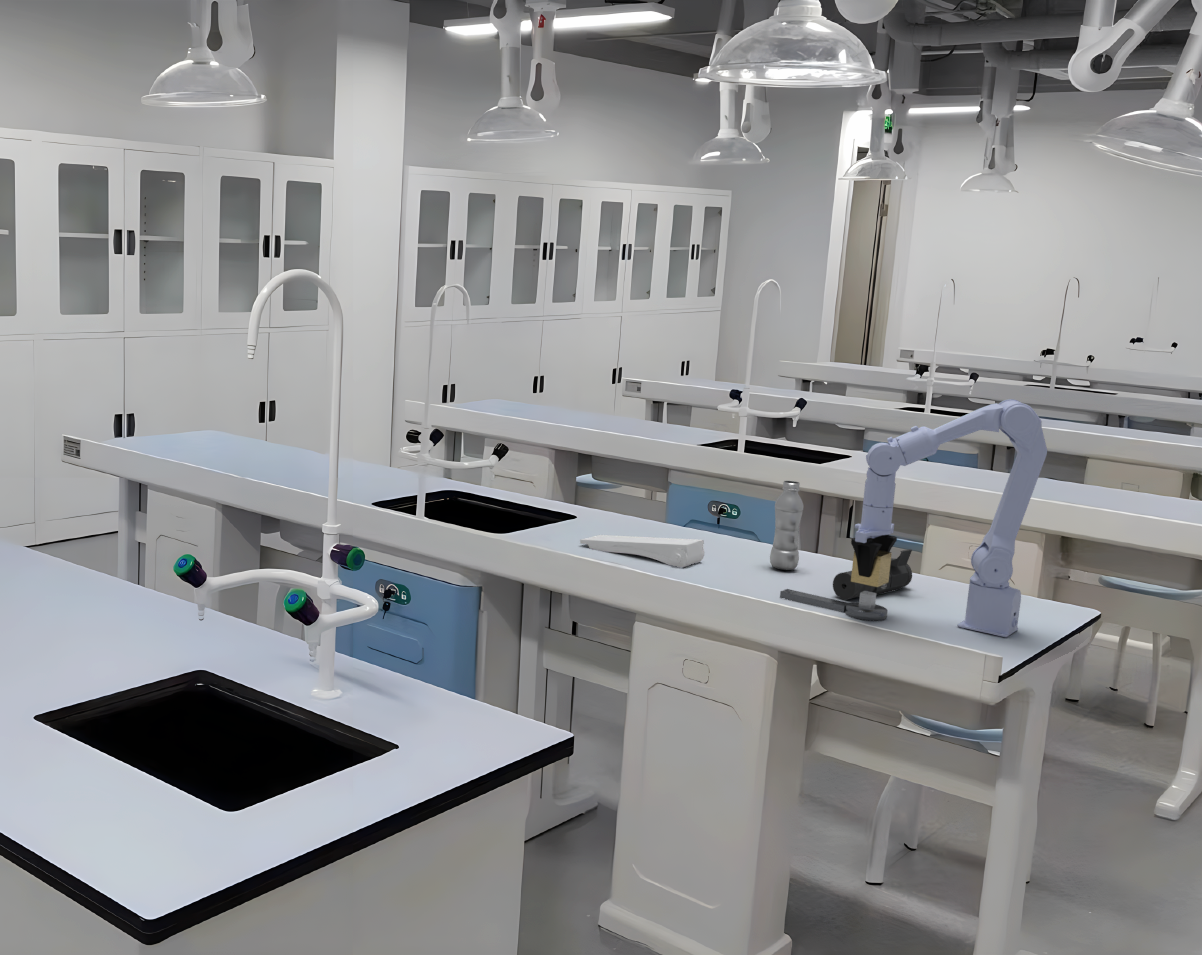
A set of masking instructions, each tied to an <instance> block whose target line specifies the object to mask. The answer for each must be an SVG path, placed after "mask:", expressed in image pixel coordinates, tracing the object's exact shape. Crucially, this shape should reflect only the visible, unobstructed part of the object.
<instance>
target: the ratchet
mask: <svg viewBox="0 0 1202 955" xmlns="http://www.w3.org/2000/svg"><path fill="white" fill-rule="evenodd" d="M876 594H877V593H873V592H869V591H863V592H861V593H860V597H859V601H858V602H857V601H855V602H854V601H853V602H846V601H842V600H838V599H835V598H829V597H826V596H825V597H824V596H820V595H816V594H812V593H807V592H803V591H797V590H794V589H790V588H786V589H782V590H781V591H780V594H779V598H780V599H782V598H785V599H784V600H787V599H788V601H791V600H792V601H791V602H796V603H800V604H805V605H809V606H814V607H818V608H822V609H826V610H827V609H828V610H831V611H834V612H835V611H836V612H838V613H839V612H840V613H843V614H844V613H845V616H847V617H850V618H852V619H855V620H859V621H864V622H883V621H886V620H887V619H888V608H886V607H884V606H882V605H879V604H877V603H876V602H877V595H876Z"/></svg>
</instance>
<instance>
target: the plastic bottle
mask: <svg viewBox="0 0 1202 955" xmlns="http://www.w3.org/2000/svg"><path fill="white" fill-rule="evenodd" d="M782 483H783V485H782V488H781V489H782V490H783V491H782V492H781V494H780V495H778V497H777V499H775V503H774V516H775V518H774V520H775V522H774V523H775V524H774V526H775V528H774V536H773V537H774V538H773V543H772V547H771V550H770V554H769V563H770V565H771V567H772V568H774V569H778V570H781V571H791V570H795V569H796V568H797V567H798V565H799V561H800V555H799V534H800V533H799V530H800V525H801V521H802V516H803V511H804V506H805V505H804V503H803V502H804V501H803V500H802V498H801V496H800V494H799V492H800V491H801V490H800V486H801V485H800V482H799V481H795V480H794V481H793V480H784V481H783V482H782Z"/></svg>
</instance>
